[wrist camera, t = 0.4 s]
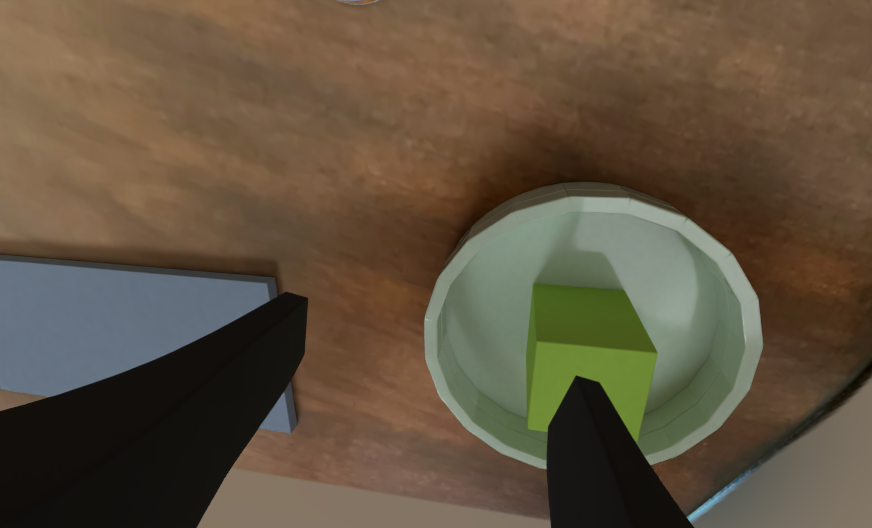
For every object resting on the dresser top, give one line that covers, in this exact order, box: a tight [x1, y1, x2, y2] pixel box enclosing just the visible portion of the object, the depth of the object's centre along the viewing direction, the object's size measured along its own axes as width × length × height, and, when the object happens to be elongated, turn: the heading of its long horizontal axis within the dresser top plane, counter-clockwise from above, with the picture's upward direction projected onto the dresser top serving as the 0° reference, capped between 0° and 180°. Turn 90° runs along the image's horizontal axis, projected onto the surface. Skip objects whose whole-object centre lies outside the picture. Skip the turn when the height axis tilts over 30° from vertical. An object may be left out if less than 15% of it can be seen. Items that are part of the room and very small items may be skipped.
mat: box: [0, 254, 297, 433], centre depth 27 cm, size 36×10×1 cm, turn 90°
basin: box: [424, 182, 763, 469], centre depth 19 cm, size 13×13×3 cm
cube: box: [526, 284, 658, 444], centre depth 17 cm, size 4×4×5 cm
